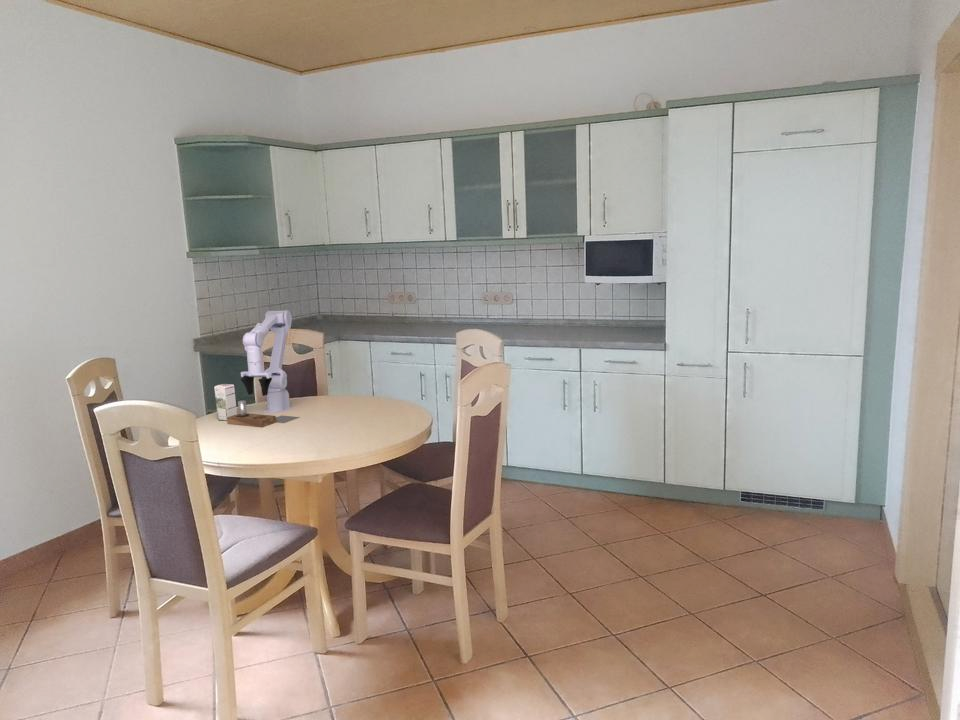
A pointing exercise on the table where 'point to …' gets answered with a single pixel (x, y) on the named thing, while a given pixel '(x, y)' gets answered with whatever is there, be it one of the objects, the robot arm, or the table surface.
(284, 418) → the rubber mat
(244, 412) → the peg
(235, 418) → the walnut hole block
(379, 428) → the table surface
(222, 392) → the syrup box
